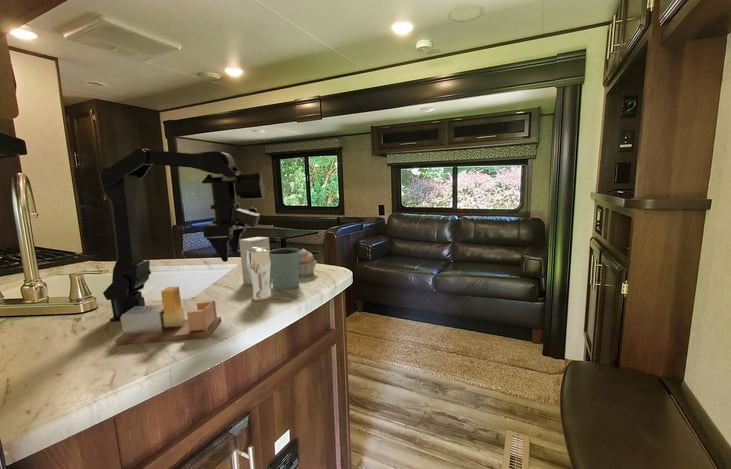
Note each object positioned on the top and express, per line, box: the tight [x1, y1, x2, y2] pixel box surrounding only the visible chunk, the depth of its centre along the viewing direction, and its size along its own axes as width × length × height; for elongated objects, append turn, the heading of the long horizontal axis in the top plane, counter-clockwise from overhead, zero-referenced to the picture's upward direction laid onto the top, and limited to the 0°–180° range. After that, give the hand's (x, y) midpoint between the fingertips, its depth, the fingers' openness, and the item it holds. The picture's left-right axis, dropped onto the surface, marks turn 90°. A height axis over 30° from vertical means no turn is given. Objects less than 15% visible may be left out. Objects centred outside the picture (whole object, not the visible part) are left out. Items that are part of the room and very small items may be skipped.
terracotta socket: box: [186, 300, 218, 331], centre depth 80 cm, size 4×7×5 cm, turn 6°
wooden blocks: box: [120, 286, 185, 331], centre depth 79 cm, size 12×3×9 cm, turn 96°
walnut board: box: [114, 316, 222, 346], centre depth 80 cm, size 20×9×1 cm, turn 96°
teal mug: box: [270, 247, 301, 291], centre depth 112 cm, size 10×10×12 cm
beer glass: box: [247, 247, 274, 301], centre depth 101 cm, size 7×7×15 cm
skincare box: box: [239, 236, 273, 286], centre depth 117 cm, size 8×7×16 cm
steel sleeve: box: [122, 304, 168, 335], centre depth 79 cm, size 8×5×5 cm, turn 96°
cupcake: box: [299, 248, 318, 278], centre depth 124 cm, size 9×9×10 cm
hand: (230, 257), depth 91 cm, fingers open, 9 cm apart
